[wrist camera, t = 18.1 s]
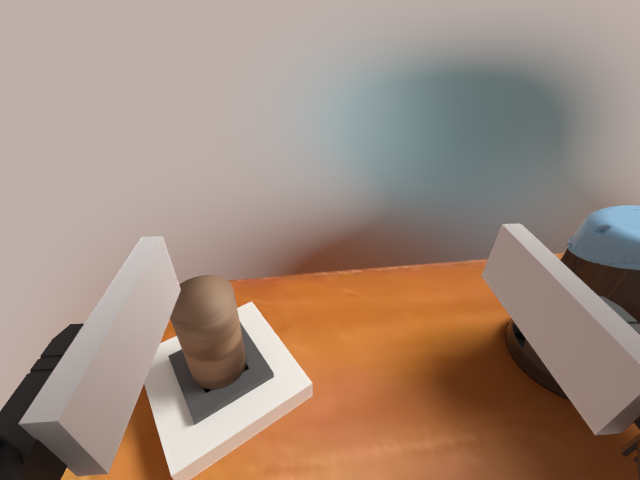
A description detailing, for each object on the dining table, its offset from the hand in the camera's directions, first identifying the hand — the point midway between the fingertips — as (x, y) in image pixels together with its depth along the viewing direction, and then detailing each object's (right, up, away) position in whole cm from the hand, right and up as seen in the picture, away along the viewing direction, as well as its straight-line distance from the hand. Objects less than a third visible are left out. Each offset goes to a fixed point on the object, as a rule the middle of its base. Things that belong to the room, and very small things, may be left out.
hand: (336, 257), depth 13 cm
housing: (-13, -18, +30) cm, 38 cm away
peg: (-13, -18, +30) cm, 38 cm away
